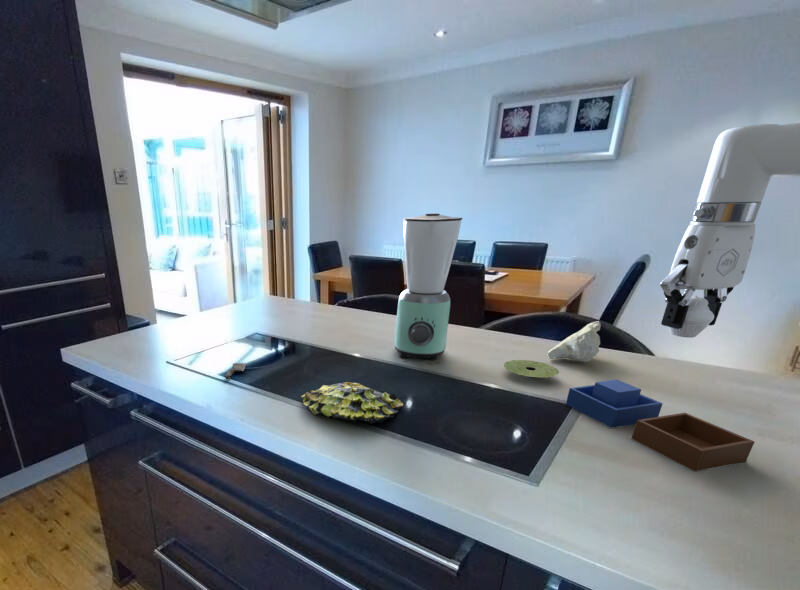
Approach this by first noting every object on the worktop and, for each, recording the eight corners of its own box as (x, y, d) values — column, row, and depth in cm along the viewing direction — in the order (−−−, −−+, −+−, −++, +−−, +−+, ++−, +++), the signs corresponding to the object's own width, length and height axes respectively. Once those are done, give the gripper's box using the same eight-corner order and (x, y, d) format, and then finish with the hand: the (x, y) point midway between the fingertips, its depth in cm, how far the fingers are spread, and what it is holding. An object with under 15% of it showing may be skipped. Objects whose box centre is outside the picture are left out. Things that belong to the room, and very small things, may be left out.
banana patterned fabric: (282, 413, 88) (283, 381, 88) (328, 406, 101) (329, 377, 100) (371, 427, 76) (372, 389, 75) (411, 416, 88) (412, 384, 88)
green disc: (539, 389, 95) (541, 380, 94) (492, 373, 103) (493, 365, 103) (567, 377, 100) (569, 369, 99) (520, 363, 109) (521, 356, 108)
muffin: (666, 338, 76) (679, 298, 73) (657, 329, 81) (668, 291, 78) (712, 341, 74) (727, 300, 71) (699, 332, 79) (713, 293, 76)
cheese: (569, 378, 105) (633, 340, 100) (550, 353, 106) (611, 314, 101) (554, 374, 119) (609, 341, 115) (537, 353, 120) (590, 319, 116)
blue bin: (607, 398, 90) (612, 382, 88) (656, 421, 80) (662, 403, 79) (565, 404, 88) (569, 387, 86) (611, 428, 78) (616, 410, 77)
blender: (446, 366, 108) (466, 214, 95) (391, 362, 112) (402, 215, 98) (443, 343, 125) (459, 211, 112) (395, 340, 129) (405, 212, 115)
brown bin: (678, 430, 77) (684, 412, 76) (746, 461, 68) (755, 441, 66) (631, 438, 75) (637, 419, 74) (694, 471, 66) (702, 451, 64)
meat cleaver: (253, 365, 112) (236, 364, 114) (253, 361, 112) (235, 359, 114) (231, 380, 102) (212, 379, 104) (231, 376, 102) (212, 374, 103)
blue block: (610, 402, 86) (616, 379, 85) (633, 413, 82) (641, 389, 80) (588, 405, 85) (595, 382, 84) (611, 417, 81) (619, 392, 79)
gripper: (705, 217, 65) (667, 335, 72) (795, 213, 68) (750, 326, 75) (656, 216, 71) (626, 323, 78) (739, 212, 75) (704, 316, 82)
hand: (687, 324), depth 77 cm, fingers closed on muffin, 6 cm apart
